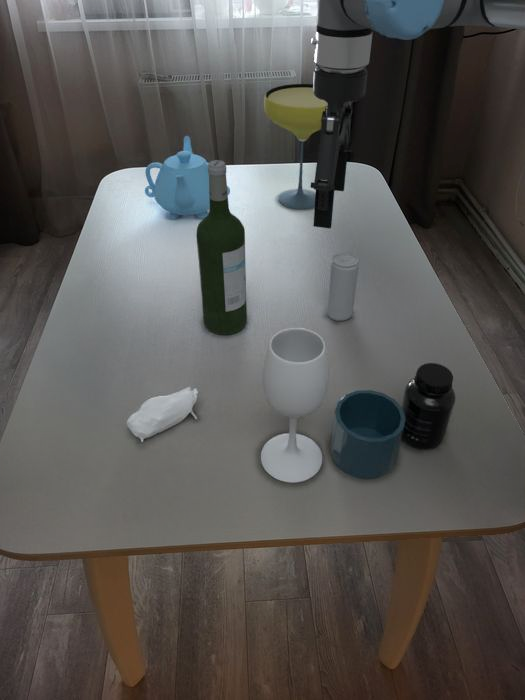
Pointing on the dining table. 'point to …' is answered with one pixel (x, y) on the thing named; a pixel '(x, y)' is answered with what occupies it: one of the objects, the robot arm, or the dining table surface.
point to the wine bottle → (222, 259)
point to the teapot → (181, 184)
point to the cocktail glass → (296, 128)
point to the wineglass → (294, 400)
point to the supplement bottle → (428, 406)
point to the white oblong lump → (162, 413)
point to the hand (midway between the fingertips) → (329, 207)
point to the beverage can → (342, 286)
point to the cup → (366, 433)
